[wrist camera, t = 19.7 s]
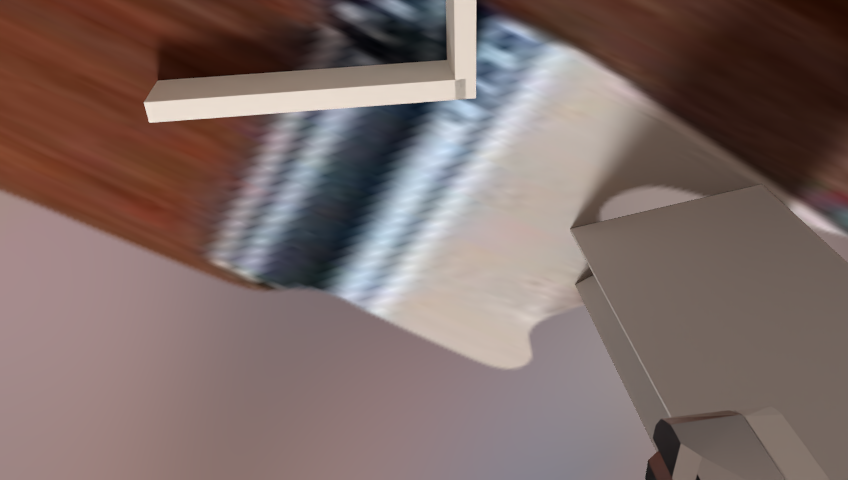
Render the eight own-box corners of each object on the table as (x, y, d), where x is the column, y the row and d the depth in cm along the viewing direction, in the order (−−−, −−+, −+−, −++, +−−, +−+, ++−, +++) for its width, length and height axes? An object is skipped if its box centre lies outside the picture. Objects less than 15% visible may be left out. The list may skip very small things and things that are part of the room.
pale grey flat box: (575, 287, 53) (788, 727, 28) (569, 228, 50) (802, 664, 25) (757, 245, 53) (1137, 653, 28) (762, 184, 50) (1193, 579, 25)
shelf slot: (465, -80, 38) (476, -70, 35) (466, 77, 43) (475, 98, 40) (121, -61, 37) (102, -48, 34) (162, 99, 42) (149, 122, 39)
